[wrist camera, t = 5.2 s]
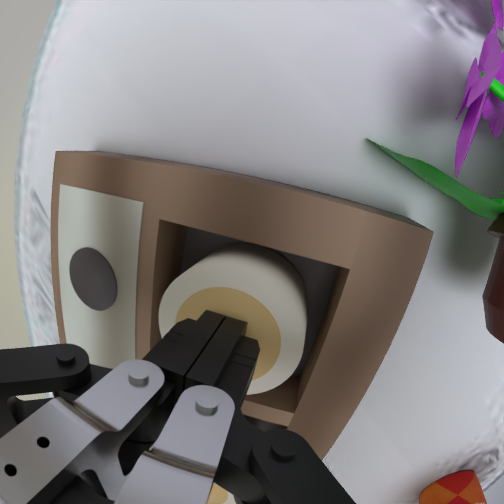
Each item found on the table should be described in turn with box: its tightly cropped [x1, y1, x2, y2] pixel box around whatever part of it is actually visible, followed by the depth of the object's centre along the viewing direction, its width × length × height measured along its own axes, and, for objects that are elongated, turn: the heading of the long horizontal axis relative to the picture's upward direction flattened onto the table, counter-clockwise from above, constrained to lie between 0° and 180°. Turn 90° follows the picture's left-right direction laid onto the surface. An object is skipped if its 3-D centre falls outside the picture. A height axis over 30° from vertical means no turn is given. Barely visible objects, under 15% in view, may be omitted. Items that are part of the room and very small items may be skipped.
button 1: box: [159, 243, 309, 395], centre depth 12 cm, size 6×6×3 cm
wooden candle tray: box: [51, 151, 434, 461], centre depth 15 cm, size 16×27×3 cm, turn 168°
